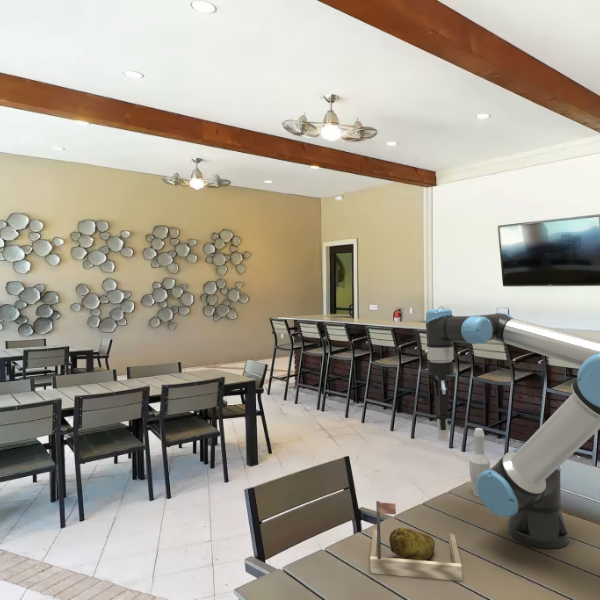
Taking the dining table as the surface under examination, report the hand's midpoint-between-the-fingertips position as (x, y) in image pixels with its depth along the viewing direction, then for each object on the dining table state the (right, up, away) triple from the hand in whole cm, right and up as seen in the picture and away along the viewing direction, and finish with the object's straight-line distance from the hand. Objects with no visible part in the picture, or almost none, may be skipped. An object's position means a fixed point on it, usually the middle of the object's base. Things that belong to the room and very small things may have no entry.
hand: (442, 439), depth 142 cm
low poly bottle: (+18, -24, +17) cm, 34 cm away
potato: (-13, -25, -20) cm, 34 cm away
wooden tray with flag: (-13, -25, -19) cm, 34 cm away
